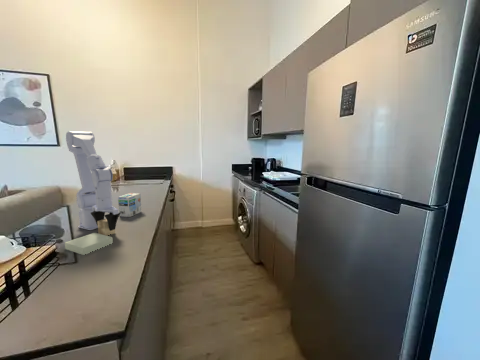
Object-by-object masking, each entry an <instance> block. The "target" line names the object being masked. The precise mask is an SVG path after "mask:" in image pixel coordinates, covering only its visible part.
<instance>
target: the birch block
mask: <svg viewBox="0 0 480 360" xmlns="http://www.w3.org/2000/svg"><path fill="white" fill-rule="evenodd" d="M97 223H98V228H97V232H98V234H102V235H106V236H108V235H109V236H111V235H114V234H115V233H116V229H115V230H112V231H110V230H109V226H108V221H107V219H106V218H104V219H103V220H100V221H97ZM110 234H111V235H110Z"/></svg>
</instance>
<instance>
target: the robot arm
mask: <svg viewBox="0 0 480 360" xmlns="http://www.w3.org/2000/svg"><path fill="white" fill-rule="evenodd" d="M65 142H66V145H67V149H68V151H69V152H70V153H73V156H74V159H75V163H76V168H77V173H78V177H79V180H80V184H81V189H79V190H78V191H77V192H76V195H75V196H76V204H77V207H78V208H79V211H78V221H79V225H78V226H77V227H78V228H80V229H84V230H89V231H93V230H95V229H98V223H97V221H100V220H103V219H107V221H108V226H109V230H110V231H112V230H115V231H116V226H117V224H118V223H117V222H118V220H119V217H120V216H119V215H120V213H119V208H116V207H115V206H113V197H112V185H111V182H112V181H113V178H114V177H113V172H112V171H113V170H112V169H111V168H110V167H109V166H106V163H105V162H104V160H103V158H102V156H101V155H99V154H97V152H96V149H95V147H94V145H95V134H94V133H93V131H75V130H73V131H71V130H68V131H67V132H66V134H65ZM106 213H107V214H106Z"/></svg>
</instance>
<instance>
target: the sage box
mask: <svg viewBox="0 0 480 360" xmlns="http://www.w3.org/2000/svg"><path fill="white" fill-rule="evenodd" d="M113 241H114V240H113V237H112V236H111V235H109V236H106V235H102V234H98V233H97V232H92V233H89V234H86V235H83V236H80V237H77V238H74V239H71V240H69V241H64V247H65V248H64V249H65V250H66V251H70V252H73V253H76V254H79V255H82V256H85V254H86V255H88V254H90V252H91V253H93V252H96V251H98V250H100V248H101V249H103V248H105V246H106V247H107V245H108V246H110V245H109V244H111V245H113V244H114V242H113ZM112 243H113V244H112ZM102 247H103V248H102ZM97 249H98V250H97ZM95 250H96V251H95ZM92 251H93V252H92Z"/></svg>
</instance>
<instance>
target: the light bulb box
mask: <svg viewBox="0 0 480 360" xmlns="http://www.w3.org/2000/svg"><path fill="white" fill-rule="evenodd" d="M117 201H118V210H119V213H120V215H119V217H123V218H124V217H125V218H130V217H133V216H135V215H137V214H140V213H142V196H141V193H138V192H136V193H135V192H129V193H126V194H123V195H119V196H118V197H117Z"/></svg>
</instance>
